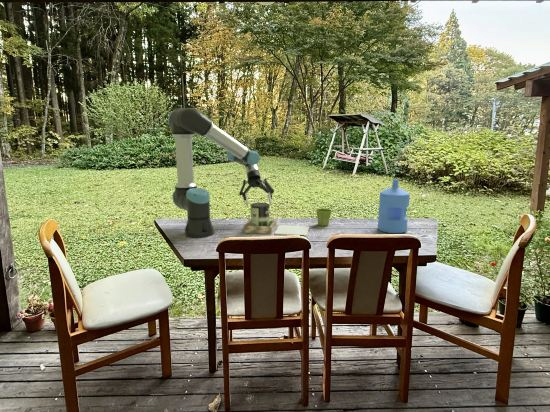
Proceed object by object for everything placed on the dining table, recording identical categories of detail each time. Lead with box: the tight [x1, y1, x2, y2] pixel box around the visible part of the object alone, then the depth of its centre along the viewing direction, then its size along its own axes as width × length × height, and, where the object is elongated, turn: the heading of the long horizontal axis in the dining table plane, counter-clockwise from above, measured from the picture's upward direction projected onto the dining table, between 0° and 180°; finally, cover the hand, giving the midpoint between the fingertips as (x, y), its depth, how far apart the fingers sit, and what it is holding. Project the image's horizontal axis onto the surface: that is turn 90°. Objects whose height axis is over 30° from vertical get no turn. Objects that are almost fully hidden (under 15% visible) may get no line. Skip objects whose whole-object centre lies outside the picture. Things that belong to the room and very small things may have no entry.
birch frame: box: [242, 218, 277, 235], centre depth 213 cm, size 15×15×4 cm
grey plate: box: [274, 224, 310, 237], centre depth 210 cm, size 17×17×1 cm
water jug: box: [377, 179, 411, 234], centre depth 210 cm, size 16×16×28 cm
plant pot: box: [315, 208, 333, 227], centre depth 222 cm, size 9×9×9 cm
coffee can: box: [250, 202, 270, 227], centre depth 211 cm, size 10×10×14 cm
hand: (259, 204), depth 217 cm, fingers open, 13 cm apart
